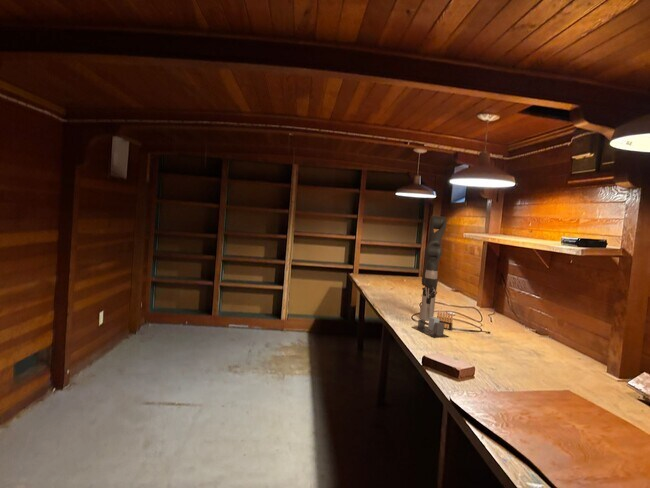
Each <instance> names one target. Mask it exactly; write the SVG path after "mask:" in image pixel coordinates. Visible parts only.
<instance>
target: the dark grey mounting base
mask: <svg viewBox="0 0 650 488" xmlns="http://www.w3.org/2000/svg"><path fill="white" fill-rule="evenodd" d="M428 326H429V322H428V321H427V322H426V320H424V319H418V320H417V326H411V328H412V329H414V330H416V331H418V332H420V333H422V334H424V335H426V336H429V337H430V338H433V339H437V338H438V339H439V338H440V339H441V338H442V339H443V338H450V336H449V335H446V334H444V330H445V329H444V324H443V323H435V324H434V331H432V330H430V329H428Z"/></svg>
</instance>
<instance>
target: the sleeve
mask: <svg viewBox="0 0 650 488" xmlns="http://www.w3.org/2000/svg"><path fill="white" fill-rule="evenodd" d="M439 321H440V318H439V319H438V318H437V316H433V317H429V321H428V323H429V326H428V325H427V327H428V329H430V330H432V331H434V324H435V323H439Z"/></svg>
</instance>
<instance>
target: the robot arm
mask: <svg viewBox="0 0 650 488" xmlns="http://www.w3.org/2000/svg"><path fill="white" fill-rule="evenodd" d="M447 221H448V219H447V217H445V216H443V215H442V216H440V215H431V217H430V219H429V229H428V236H427V237H428V239H427V245H426V247H425V250H424V254H425V257H424V258H425V259H424V267H423V271H422V276H421V285H422V286H424V287H422V288H421V290H422V296H421V304H420V309H419V318H420V319H419V320H421V319H424V320H425V321H427V322H429V317H435V314H434V313H435V305H436V297H437V296H436V295H437V294H438V291H437V288H438V287H437V286H438V282H439V276H438V270H439V269H438V267H439V264H440V260H441V258H442V255H443V248H442V247H441V245H442V239H443V236H444V234H445V231H446V227H447ZM435 230H437V231H435Z"/></svg>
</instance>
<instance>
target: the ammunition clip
mask: <svg viewBox="0 0 650 488" xmlns="http://www.w3.org/2000/svg"><path fill="white" fill-rule="evenodd" d="M436 318H438V319H440V321H439V323H443V324H444V330H445V331H449V332H451V331H453V322H454V313H453V312H451V311H449V312H448V311H445V310H444V311H443V310H442V309H441V310H437V315H436Z"/></svg>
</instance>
